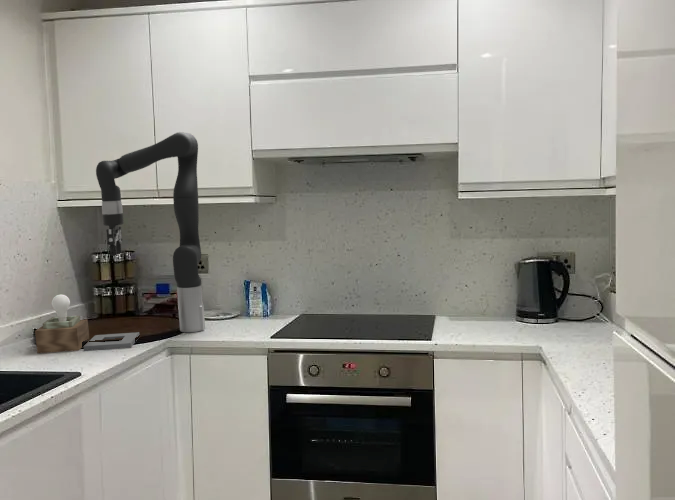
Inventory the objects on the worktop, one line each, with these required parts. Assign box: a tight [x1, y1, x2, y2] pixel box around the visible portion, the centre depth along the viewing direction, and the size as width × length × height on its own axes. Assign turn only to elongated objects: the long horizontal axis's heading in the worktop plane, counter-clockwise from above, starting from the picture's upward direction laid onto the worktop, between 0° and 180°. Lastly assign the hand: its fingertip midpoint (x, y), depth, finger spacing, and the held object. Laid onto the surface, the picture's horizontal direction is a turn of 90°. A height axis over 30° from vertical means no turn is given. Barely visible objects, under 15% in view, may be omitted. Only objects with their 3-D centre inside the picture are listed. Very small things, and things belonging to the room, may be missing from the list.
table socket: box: [83, 331, 140, 352], centre depth 236 cm, size 16×16×2 cm
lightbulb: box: [51, 294, 71, 322], centre depth 233 cm, size 6×6×11 cm
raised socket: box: [34, 315, 90, 354], centre depth 234 cm, size 14×14×10 cm
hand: (116, 254), depth 253 cm, fingers open, 8 cm apart
